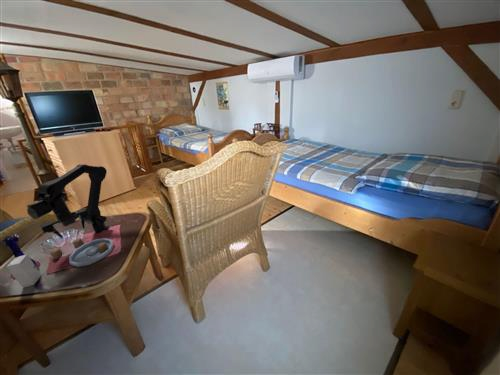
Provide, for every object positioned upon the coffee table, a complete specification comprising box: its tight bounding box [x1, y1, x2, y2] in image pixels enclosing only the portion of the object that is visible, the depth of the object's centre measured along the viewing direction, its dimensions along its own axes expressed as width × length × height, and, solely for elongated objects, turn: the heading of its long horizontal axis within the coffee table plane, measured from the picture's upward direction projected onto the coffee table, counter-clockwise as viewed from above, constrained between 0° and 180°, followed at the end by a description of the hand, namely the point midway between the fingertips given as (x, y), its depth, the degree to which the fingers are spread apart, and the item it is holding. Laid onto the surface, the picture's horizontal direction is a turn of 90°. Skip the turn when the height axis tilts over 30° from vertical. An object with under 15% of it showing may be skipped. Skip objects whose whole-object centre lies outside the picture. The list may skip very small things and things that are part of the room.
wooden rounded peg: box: [97, 242, 108, 253], centre depth 104 cm, size 4×4×4 cm
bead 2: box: [72, 238, 84, 248], centre depth 111 cm, size 4×4×4 cm
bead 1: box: [49, 248, 64, 260], centre depth 104 cm, size 4×4×4 cm
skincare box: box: [6, 254, 42, 288], centre depth 88 cm, size 6×4×12 cm
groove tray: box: [68, 237, 115, 268], centre depth 104 cm, size 18×18×3 cm
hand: (73, 233), depth 108 cm, fingers open, 9 cm apart
